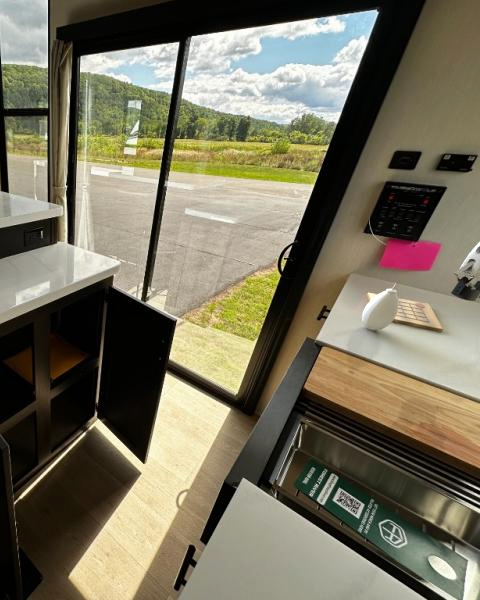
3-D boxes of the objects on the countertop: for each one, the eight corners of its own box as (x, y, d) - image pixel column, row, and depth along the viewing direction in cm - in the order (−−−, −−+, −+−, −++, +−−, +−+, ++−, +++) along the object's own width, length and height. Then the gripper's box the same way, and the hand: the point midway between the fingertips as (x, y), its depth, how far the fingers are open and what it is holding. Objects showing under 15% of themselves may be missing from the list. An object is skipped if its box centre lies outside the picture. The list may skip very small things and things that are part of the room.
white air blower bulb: (357, 331, 108) (382, 285, 98) (354, 319, 114) (378, 275, 104) (387, 338, 105) (416, 291, 95) (382, 325, 110) (409, 280, 101)
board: (426, 306, 119) (428, 303, 118) (441, 332, 106) (443, 329, 106) (366, 295, 127) (368, 292, 127) (373, 317, 114) (375, 314, 114)
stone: (473, 295, 91) (480, 285, 89) (479, 302, 88) (487, 292, 86) (452, 291, 93) (459, 281, 91) (457, 298, 90) (464, 288, 88)
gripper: (492, 241, 78) (449, 303, 87) (562, 239, 77) (511, 301, 87) (460, 231, 84) (424, 290, 94) (525, 228, 84) (482, 288, 93)
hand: (466, 295), depth 90 cm, fingers closed on stone, 4 cm apart
